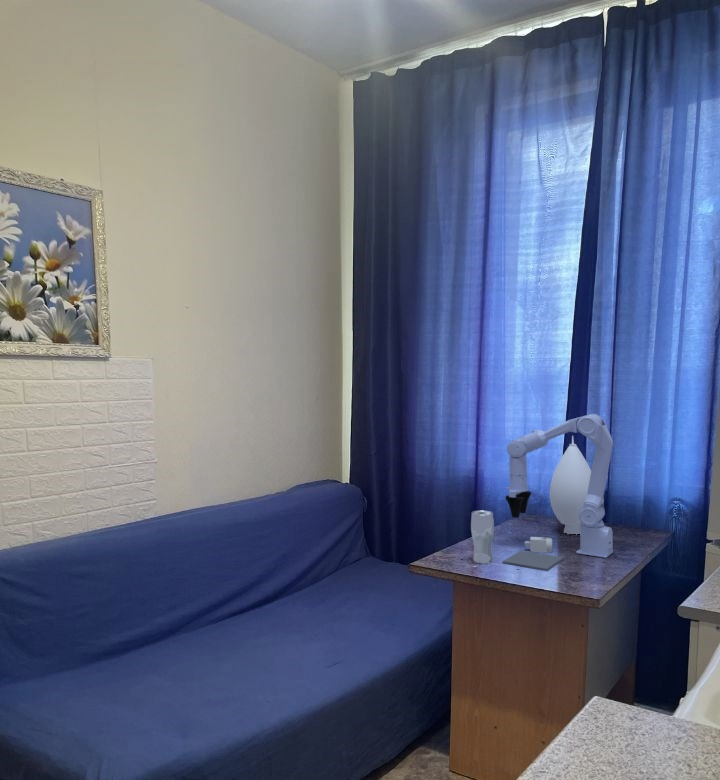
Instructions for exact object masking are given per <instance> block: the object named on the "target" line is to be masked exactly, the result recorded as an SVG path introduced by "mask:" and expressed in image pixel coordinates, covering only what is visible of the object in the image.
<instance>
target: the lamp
mask: <svg viewBox="0 0 720 780" xmlns="http://www.w3.org/2000/svg"><path fill="white" fill-rule="evenodd" d="M574 439H575V438H574V435H572V436H571V443H569V444H568V445H569V446H567V449H566V450H565V451H564V453H563V455H562V456H561V458H560V460H559V462H558V463H557V466H556V468H555V469H554V472H553V475H552V477H551V481H550V485H549V501H550V505H551V510H552V511H553V513H554V515H555V517H556V519H557V521H559V523H560V524H562V525H565V526H564V528H563V533H564V534H565V533H567V534H566V535H569V534H576V535H575V536H578V535H577V534H580V522H581V521H580V519H579V512H580V510H581V509H582V508H583V506H584V501H585V499H586V496H587V492H588V487H589V481H590V476H591V470H592V468H590V465H589V464H588V461H587V460H586V458H585V457H584V455H583V453H582V452H581V451H580V449H579V447H578V446H577V444H576V443H575V441H574Z"/></svg>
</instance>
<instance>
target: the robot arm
mask: <svg viewBox="0 0 720 780" xmlns="http://www.w3.org/2000/svg"><path fill="white" fill-rule="evenodd" d="M530 431H531V432H530V433H528V434H526V435H520V436H518V438H517V439H513V440H511V441H510V442H509V443H508V444H507V445H506V446H507V447H506V452H507V454H508V455H509V458H508V459H509V463H508V466H509V468H508V469H509V486H507V487H506V490H507V491H508V495H507V494H506V495H505V500H506V501H507V503H508V506H509V509H510V513H511V517H512V518H517V519H518V518H520V513H521V514H526V512H527V509H528V508H527V507H528V503H529V499H530V496H531V495H532V491H529V487H528V467H527V466H528V465H527V464H528V463H527V454H528V453H532V452H533V451H537V450H539V449H541V448H543V447H547V445H548V443H549V441H550V440H552V439H554V438H556V437H559V436H562V435H565V434H567V433H574V434H575V433H577V434H578V433H580V434H581V435H583V436H585V437H586V438H588V439H589V440H590V441H591V442H592V444H593V445H594V446H595V449H594V455H593V461H592V467H591V476H590V481H589V487H588V492H587V496H586V499H585V501H584V506H583V508H582V509H581V510H580V512H579V519H580V521H581V522H580V535H579V537H580V539H579V544H580V546H579V549H577V550H576V551H575V553H576V554H579V555H585V556H587V555H588V556H592V557H593V556H594V557H599V558H605V559H607V558H608V557H609V556H610V555H612V553H614V548H613V542H614V541H613V540H614V539H613V537H614V536H613V535H614V534H613V529H612V527H609V526H607V525H605V522H604V521H603V520H602V519H603V518H604V517H605V515H606V511H605V507H604V502H605V499H604V495H605V489H606V483H607V479H608V473H609V468H610V467H609V466H610V462H611V457H612V452H613V451H612V450H613V447H614V441H613V438H612V435H611V433H610V431H609V429H608V425H607V422H606V421H605V420H604V418H602V417H601V416H600V415H599V414H596V413H589V414H586V415H583V416H579V417H576V418H572V419H568V420H567V421H564V422H562V423H560V424H558V425H556V426H554V427H551V428H549V429H547V430H541V429H536V428H535V429H533V430H530Z"/></svg>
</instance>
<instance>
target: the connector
mask: <svg viewBox="0 0 720 780" xmlns="http://www.w3.org/2000/svg"><path fill="white" fill-rule="evenodd" d="M529 539H530V540H525V541H524V547H527V548H528V547H529V548H530V549H529V550H530V551H529V552H533V553H542V554H544V553H548V554H549V553H553V538H551V537H541V536H530V538H529Z"/></svg>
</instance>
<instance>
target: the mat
mask: <svg viewBox="0 0 720 780" xmlns="http://www.w3.org/2000/svg"><path fill="white" fill-rule="evenodd" d="M564 559H565V558H564V557H563V556H558V555H557V556H556V555H552V554H551V555H550V554H544V553H540V552H530V551H526V550H519V551H518V552H516V553H514V554H512V555H511V556H509V557H507V558H505V559H504V560H502V563H501V564H505V565H512V566H517V567H521V568H528V569H534V570H539V571H544V572H548V571H549V570H551V569H552V568H553V567H555V566H557V565H558V564H560V562H562V561H564Z"/></svg>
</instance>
